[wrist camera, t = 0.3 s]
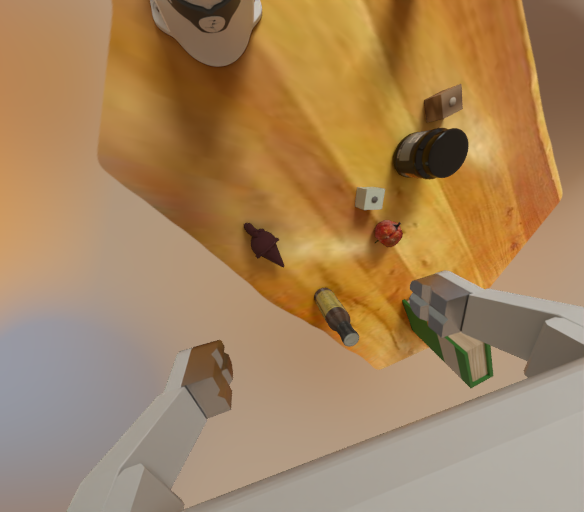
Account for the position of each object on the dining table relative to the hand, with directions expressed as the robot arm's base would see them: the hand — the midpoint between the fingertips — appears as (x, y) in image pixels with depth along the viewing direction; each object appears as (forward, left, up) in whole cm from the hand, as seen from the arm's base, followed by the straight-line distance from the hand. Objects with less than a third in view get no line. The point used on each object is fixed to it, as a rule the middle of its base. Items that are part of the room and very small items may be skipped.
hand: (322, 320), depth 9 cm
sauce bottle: (+35, +13, -48) cm, 61 cm away
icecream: (+13, -1, -48) cm, 49 cm away
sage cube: (+7, +28, -47) cm, 56 cm away
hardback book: (+54, +48, -48) cm, 87 cm away
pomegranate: (+18, +33, -48) cm, 61 cm away
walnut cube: (-11, +47, -47) cm, 67 cm away
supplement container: (-1, +41, -48) cm, 63 cm away
